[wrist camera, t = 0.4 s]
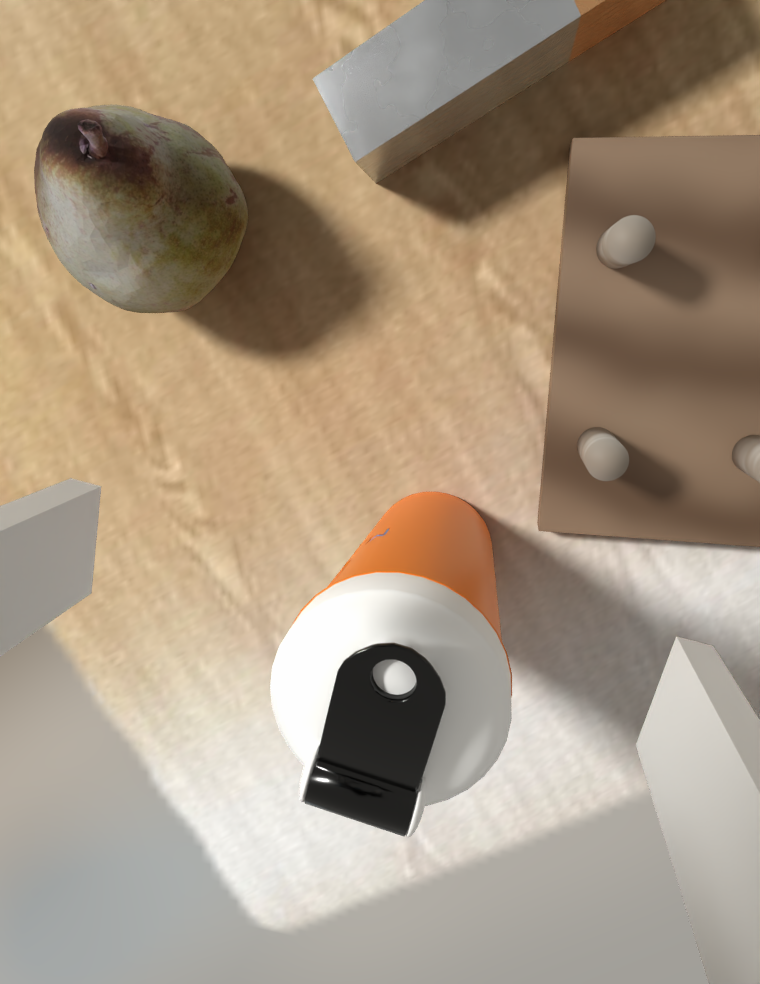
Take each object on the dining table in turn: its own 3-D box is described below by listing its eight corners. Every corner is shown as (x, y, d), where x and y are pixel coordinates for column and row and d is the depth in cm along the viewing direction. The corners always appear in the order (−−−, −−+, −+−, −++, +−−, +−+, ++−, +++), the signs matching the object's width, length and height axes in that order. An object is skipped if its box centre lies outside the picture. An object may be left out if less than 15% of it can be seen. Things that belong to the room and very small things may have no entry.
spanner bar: (375, 183, 37) (355, 162, 32) (340, 112, 36) (312, 78, 31) (667, -1, 33) (699, -62, 27) (632, -85, 32) (657, -163, 27)
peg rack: (569, 145, 35) (582, 115, 29) (851, 141, 33) (918, 108, 27) (537, 523, 40) (542, 554, 35) (778, 540, 38) (823, 576, 33)
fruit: (286, 162, 37) (191, 95, 26) (250, 334, 40) (149, 342, 29) (113, 116, 38) (-53, 31, 27) (89, 286, 41) (-71, 276, 29)
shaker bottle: (518, 485, 39) (533, 646, 20) (497, 626, 42) (494, 888, 23) (366, 466, 41) (247, 601, 22) (354, 604, 43) (237, 835, 24)
